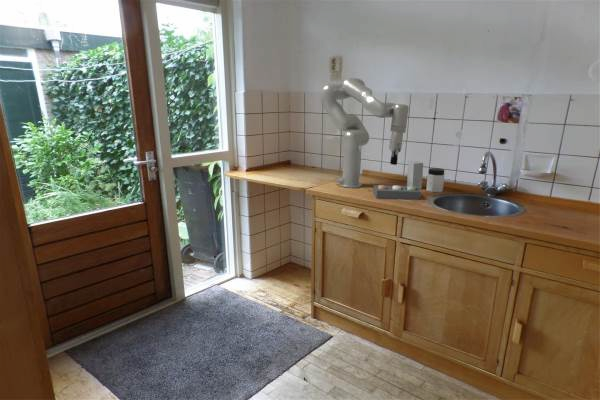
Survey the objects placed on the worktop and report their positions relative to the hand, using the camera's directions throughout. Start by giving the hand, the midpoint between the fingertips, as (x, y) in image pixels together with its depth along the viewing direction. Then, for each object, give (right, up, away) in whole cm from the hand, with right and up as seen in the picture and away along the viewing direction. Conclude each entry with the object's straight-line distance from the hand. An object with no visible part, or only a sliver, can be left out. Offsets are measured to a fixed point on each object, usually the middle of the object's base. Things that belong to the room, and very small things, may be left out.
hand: (393, 164), depth 205 cm
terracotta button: (-6, -15, -2) cm, 16 cm away
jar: (+26, -14, +12) cm, 32 cm away
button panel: (+1, -17, -1) cm, 17 cm away
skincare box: (+16, -12, +18) cm, 27 cm away
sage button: (+9, -15, -2) cm, 18 cm away
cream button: (+1, -15, -2) cm, 15 cm away
